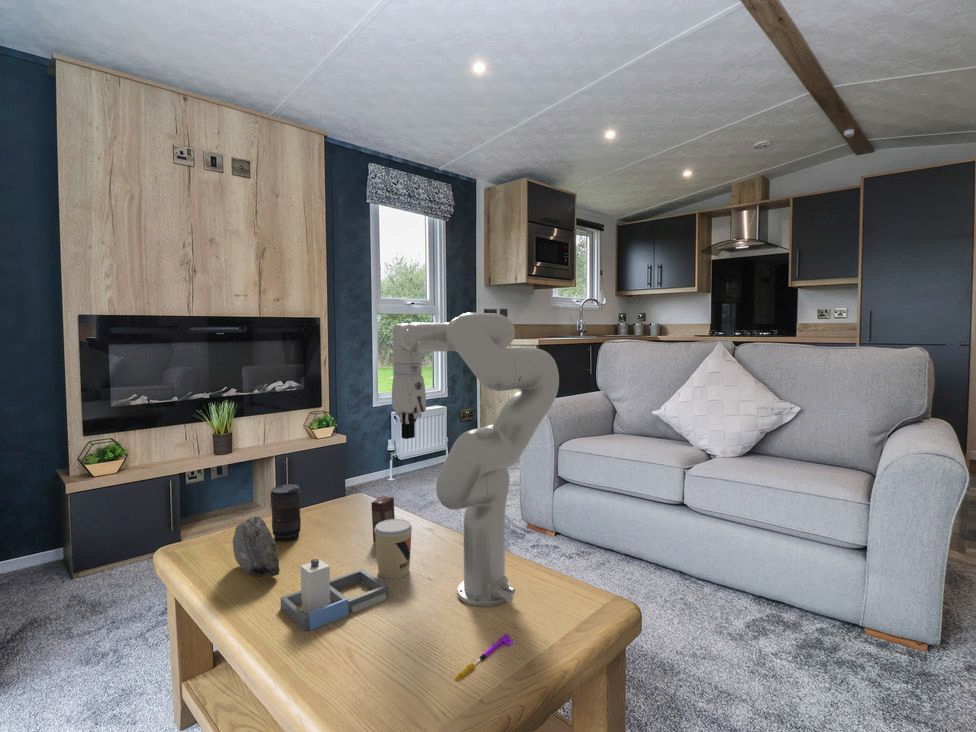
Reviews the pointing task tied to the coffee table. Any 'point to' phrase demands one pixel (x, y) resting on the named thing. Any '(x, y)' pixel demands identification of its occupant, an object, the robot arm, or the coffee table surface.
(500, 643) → the purple and yellow tool
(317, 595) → the plug
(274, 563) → the decorative rock
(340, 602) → the divided sorting tray
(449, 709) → the coffee table surface
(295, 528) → the camera lens
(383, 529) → the cream lidded canister
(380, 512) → the box
